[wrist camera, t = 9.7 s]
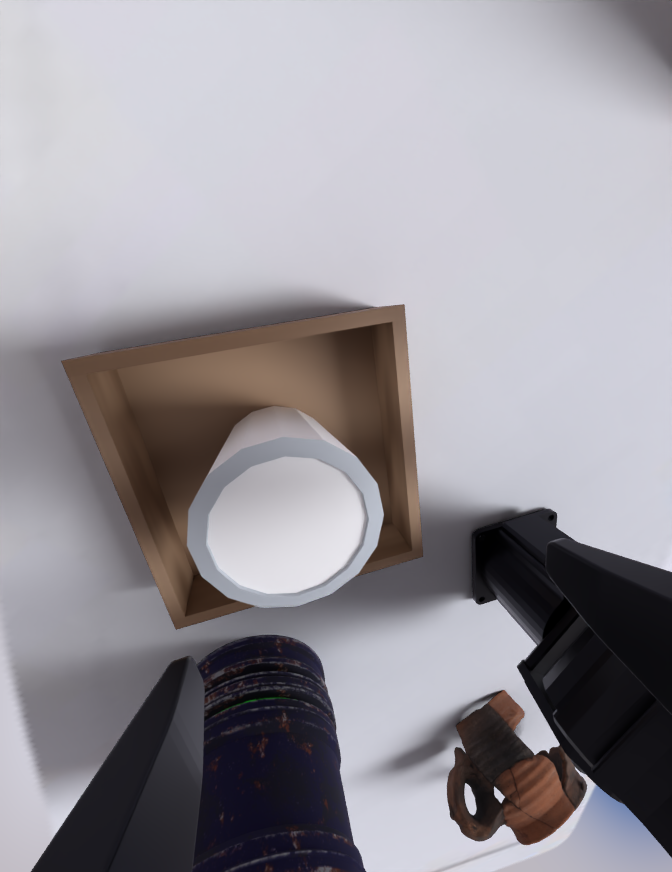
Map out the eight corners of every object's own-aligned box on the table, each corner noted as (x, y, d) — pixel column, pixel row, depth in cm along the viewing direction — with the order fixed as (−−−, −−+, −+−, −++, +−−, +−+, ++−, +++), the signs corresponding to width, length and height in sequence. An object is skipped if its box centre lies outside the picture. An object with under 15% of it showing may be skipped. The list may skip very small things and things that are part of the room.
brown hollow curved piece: (527, 664, 31) (618, 773, 26) (492, 684, 38) (559, 774, 33) (427, 756, 27) (513, 908, 22) (407, 760, 34) (469, 877, 29)
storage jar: (326, 719, 27) (405, 1146, 13) (191, 754, 25) (115, 1306, 11) (323, 620, 24) (425, 1047, 10) (168, 651, 21) (19, 1248, 8)
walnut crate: (398, 522, 22) (423, 556, 19) (187, 580, 20) (175, 629, 17) (376, 307, 18) (404, 304, 14) (100, 352, 16) (60, 361, 12)
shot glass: (251, 534, 19) (251, 640, 13) (182, 432, 17) (138, 502, 10) (359, 478, 20) (410, 554, 13) (307, 370, 17) (340, 400, 11)
